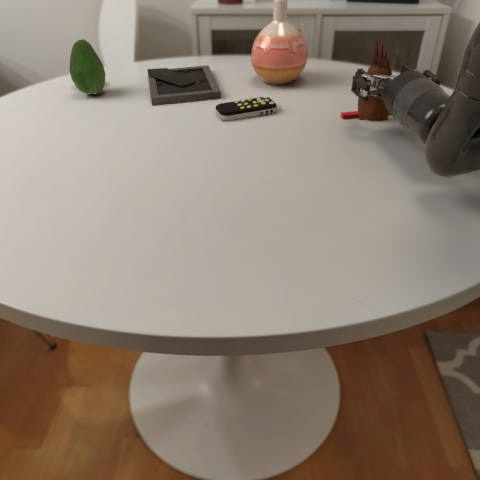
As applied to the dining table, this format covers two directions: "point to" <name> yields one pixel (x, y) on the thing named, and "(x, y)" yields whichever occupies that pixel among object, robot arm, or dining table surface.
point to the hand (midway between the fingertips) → (380, 72)
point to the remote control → (245, 108)
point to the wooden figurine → (380, 65)
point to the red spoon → (350, 114)
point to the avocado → (86, 68)
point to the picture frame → (182, 85)
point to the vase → (279, 49)
